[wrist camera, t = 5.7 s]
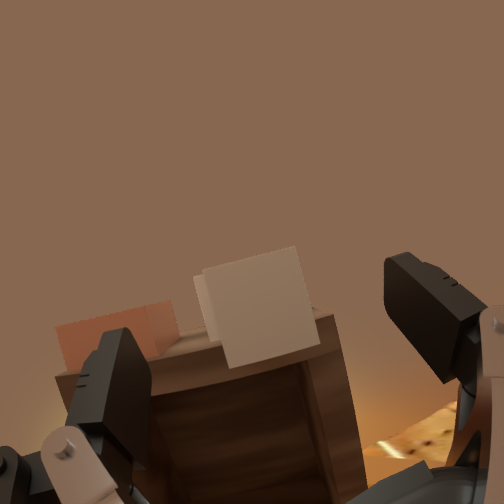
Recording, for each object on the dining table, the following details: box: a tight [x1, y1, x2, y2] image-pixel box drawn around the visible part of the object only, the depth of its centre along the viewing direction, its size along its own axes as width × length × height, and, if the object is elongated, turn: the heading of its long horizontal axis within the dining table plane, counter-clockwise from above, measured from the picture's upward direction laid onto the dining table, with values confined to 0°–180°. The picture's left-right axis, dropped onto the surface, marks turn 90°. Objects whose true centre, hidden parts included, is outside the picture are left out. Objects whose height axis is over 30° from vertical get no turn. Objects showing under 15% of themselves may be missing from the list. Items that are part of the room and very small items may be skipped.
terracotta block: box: [55, 300, 180, 372], centre depth 21 cm, size 7×6×3 cm
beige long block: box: [193, 246, 320, 369], centre depth 18 cm, size 20×6×4 cm, turn 2°
